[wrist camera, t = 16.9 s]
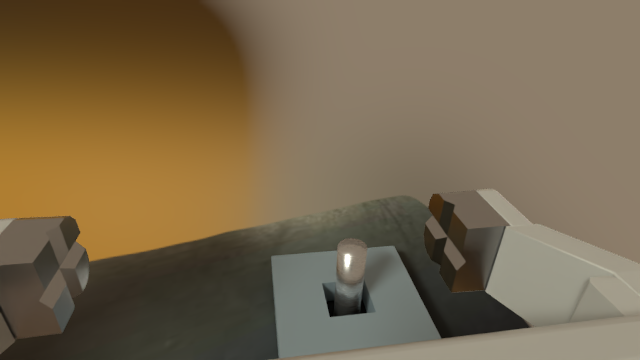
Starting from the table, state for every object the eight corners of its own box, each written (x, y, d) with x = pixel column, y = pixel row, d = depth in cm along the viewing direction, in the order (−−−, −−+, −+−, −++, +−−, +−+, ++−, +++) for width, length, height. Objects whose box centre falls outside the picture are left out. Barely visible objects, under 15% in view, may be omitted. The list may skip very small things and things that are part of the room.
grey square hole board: (281, 391, 37) (280, 371, 36) (271, 274, 51) (271, 256, 49) (441, 370, 40) (447, 350, 38) (391, 263, 53) (394, 245, 52)
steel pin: (336, 328, 44) (341, 258, 39) (331, 307, 46) (335, 239, 41) (362, 325, 44) (370, 255, 39) (356, 305, 47) (363, 237, 42)
